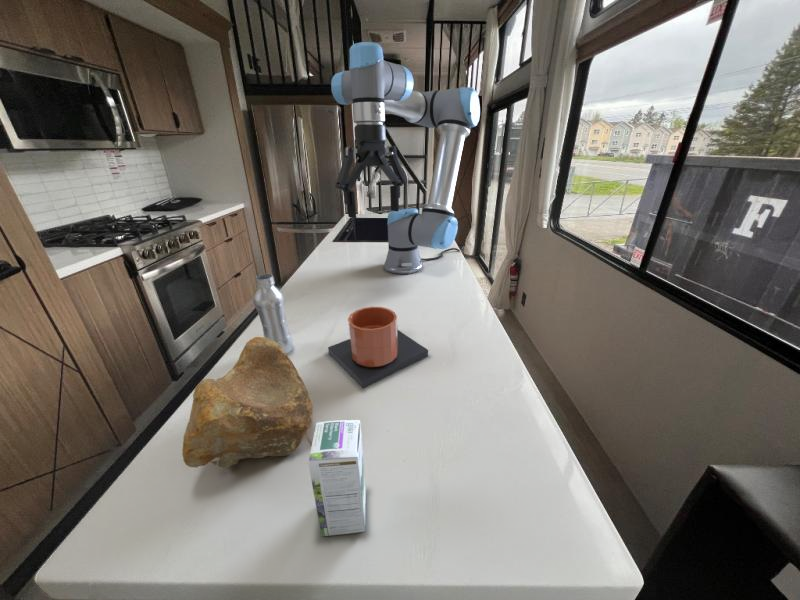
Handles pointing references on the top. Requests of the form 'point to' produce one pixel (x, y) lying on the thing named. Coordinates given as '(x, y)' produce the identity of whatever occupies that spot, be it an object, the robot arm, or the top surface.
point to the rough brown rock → (248, 410)
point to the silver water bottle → (272, 312)
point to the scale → (369, 375)
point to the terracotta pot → (373, 336)
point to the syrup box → (338, 477)
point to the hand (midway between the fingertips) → (374, 214)
